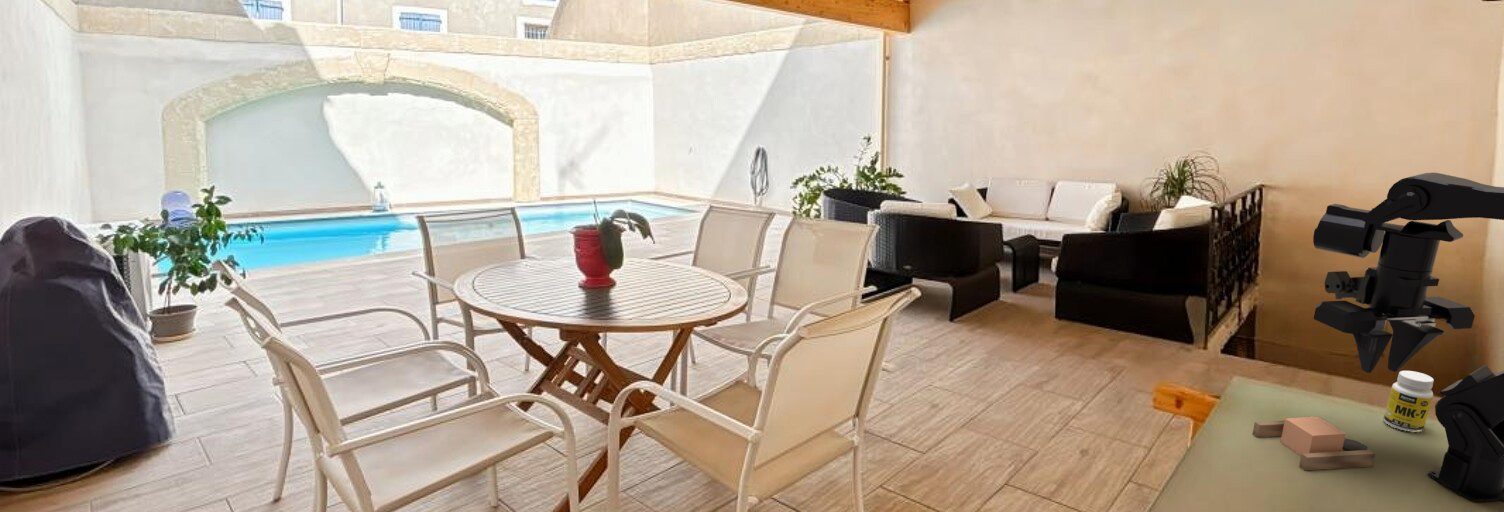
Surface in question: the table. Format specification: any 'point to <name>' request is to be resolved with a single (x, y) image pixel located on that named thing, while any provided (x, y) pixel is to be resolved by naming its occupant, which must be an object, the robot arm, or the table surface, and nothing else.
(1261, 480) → the table surface
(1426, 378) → the supplement bottle
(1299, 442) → the terracotta block
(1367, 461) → the channel
